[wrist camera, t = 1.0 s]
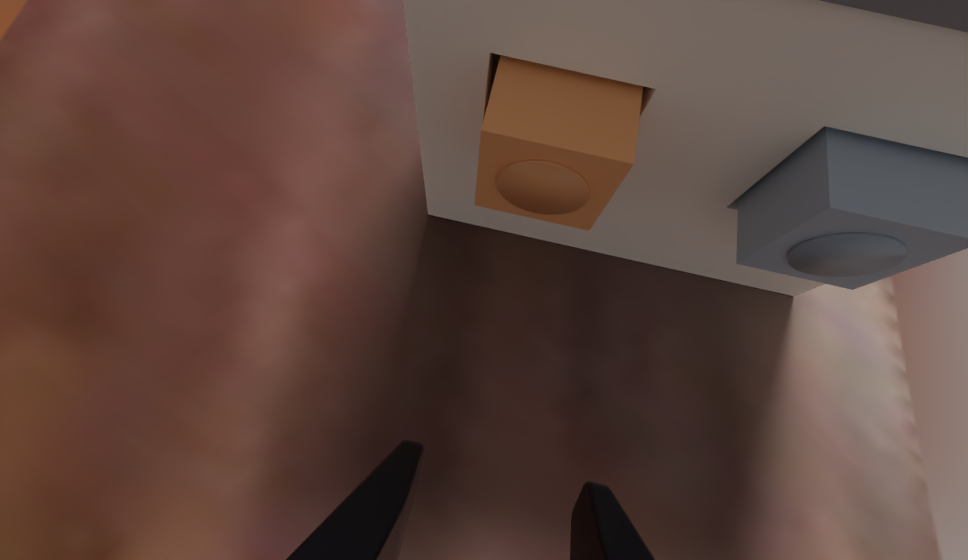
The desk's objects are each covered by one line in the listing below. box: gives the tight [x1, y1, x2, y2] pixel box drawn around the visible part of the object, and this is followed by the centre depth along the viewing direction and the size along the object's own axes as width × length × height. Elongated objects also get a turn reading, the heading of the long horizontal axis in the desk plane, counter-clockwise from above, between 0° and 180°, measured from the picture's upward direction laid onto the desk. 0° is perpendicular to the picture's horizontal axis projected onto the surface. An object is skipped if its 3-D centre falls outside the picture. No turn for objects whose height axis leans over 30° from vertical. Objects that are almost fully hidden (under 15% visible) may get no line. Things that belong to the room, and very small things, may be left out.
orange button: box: [474, 55, 643, 231], centre depth 15 cm, size 4×4×4 cm
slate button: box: [736, 126, 968, 290], centre depth 15 cm, size 4×4×4 cm
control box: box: [403, 0, 968, 296], centre depth 18 cm, size 8×20×16 cm, turn 78°
